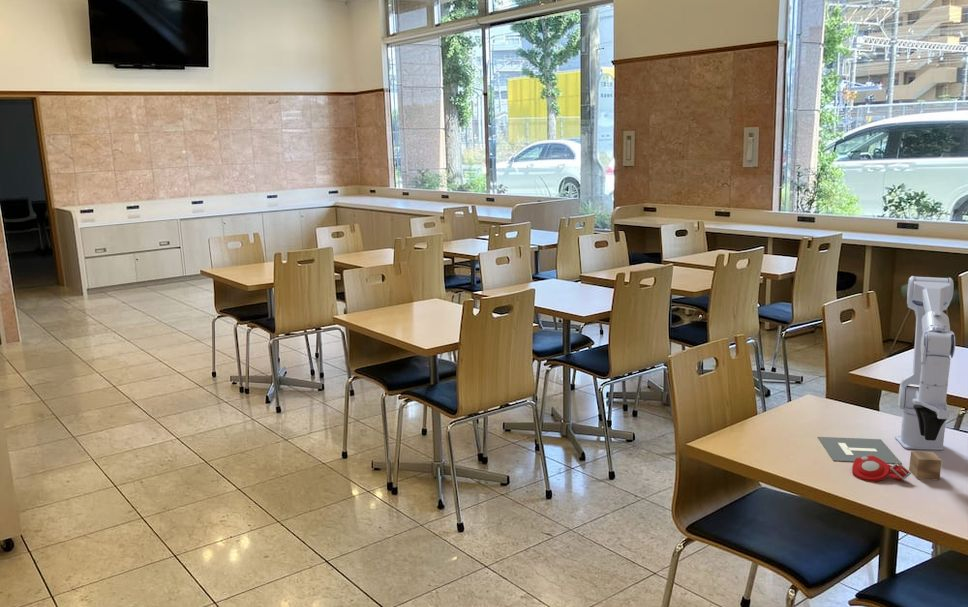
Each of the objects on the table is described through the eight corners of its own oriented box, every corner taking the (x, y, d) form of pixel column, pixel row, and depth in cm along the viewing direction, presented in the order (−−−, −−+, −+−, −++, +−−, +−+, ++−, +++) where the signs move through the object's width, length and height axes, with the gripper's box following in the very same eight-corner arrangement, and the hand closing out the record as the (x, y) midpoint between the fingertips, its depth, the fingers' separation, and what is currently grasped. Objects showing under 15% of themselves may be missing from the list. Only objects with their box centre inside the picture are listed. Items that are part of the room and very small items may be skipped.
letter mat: (880, 439, 213) (880, 439, 213) (901, 464, 198) (901, 463, 198) (817, 437, 216) (817, 436, 215) (833, 461, 200) (833, 460, 200)
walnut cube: (931, 471, 193) (933, 452, 192) (939, 480, 189) (941, 460, 188) (909, 470, 194) (910, 451, 193) (916, 479, 189) (918, 459, 188)
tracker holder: (858, 479, 188) (844, 453, 197) (859, 494, 189) (846, 467, 198) (913, 470, 185) (897, 444, 194) (914, 485, 187) (898, 459, 196)
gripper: (904, 373, 194) (899, 426, 197) (927, 391, 180) (921, 448, 183) (935, 373, 193) (929, 427, 196) (961, 392, 179) (954, 449, 182)
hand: (927, 437), depth 189 cm, fingers closed
